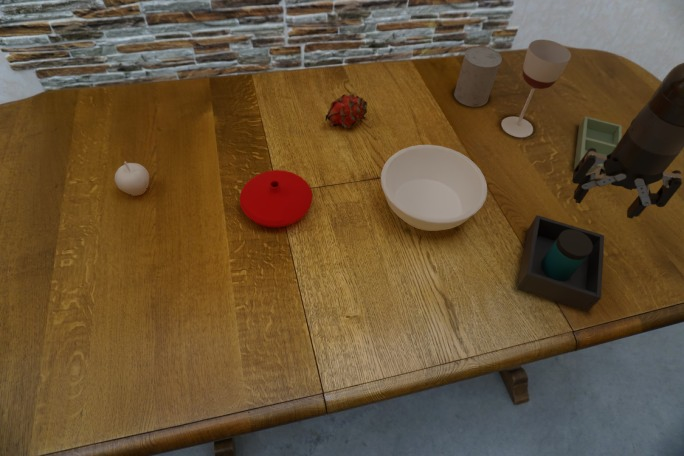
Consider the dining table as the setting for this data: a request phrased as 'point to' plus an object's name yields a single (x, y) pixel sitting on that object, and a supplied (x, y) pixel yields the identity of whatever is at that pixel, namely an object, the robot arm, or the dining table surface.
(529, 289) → the dark grey open box
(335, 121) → the dragon fruit
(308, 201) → the red disc with nozzle
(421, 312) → the dining table surface
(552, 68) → the wineglass
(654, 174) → the robot arm
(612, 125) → the green divided tray
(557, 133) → the dining table surface
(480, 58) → the gray cylinder
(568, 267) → the travel mug
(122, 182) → the plain white apple
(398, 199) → the bowl
